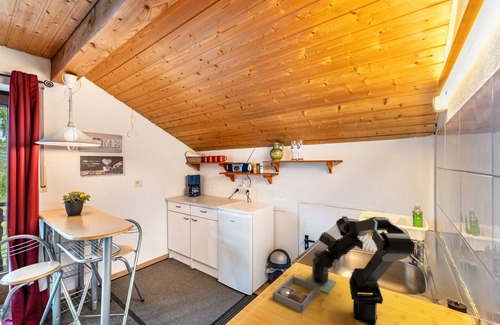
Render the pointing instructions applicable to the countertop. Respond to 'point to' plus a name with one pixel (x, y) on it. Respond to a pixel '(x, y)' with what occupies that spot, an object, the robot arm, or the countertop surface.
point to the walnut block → (298, 296)
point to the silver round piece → (286, 292)
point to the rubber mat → (323, 284)
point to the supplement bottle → (319, 270)
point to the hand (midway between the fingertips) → (318, 263)
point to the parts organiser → (287, 284)
